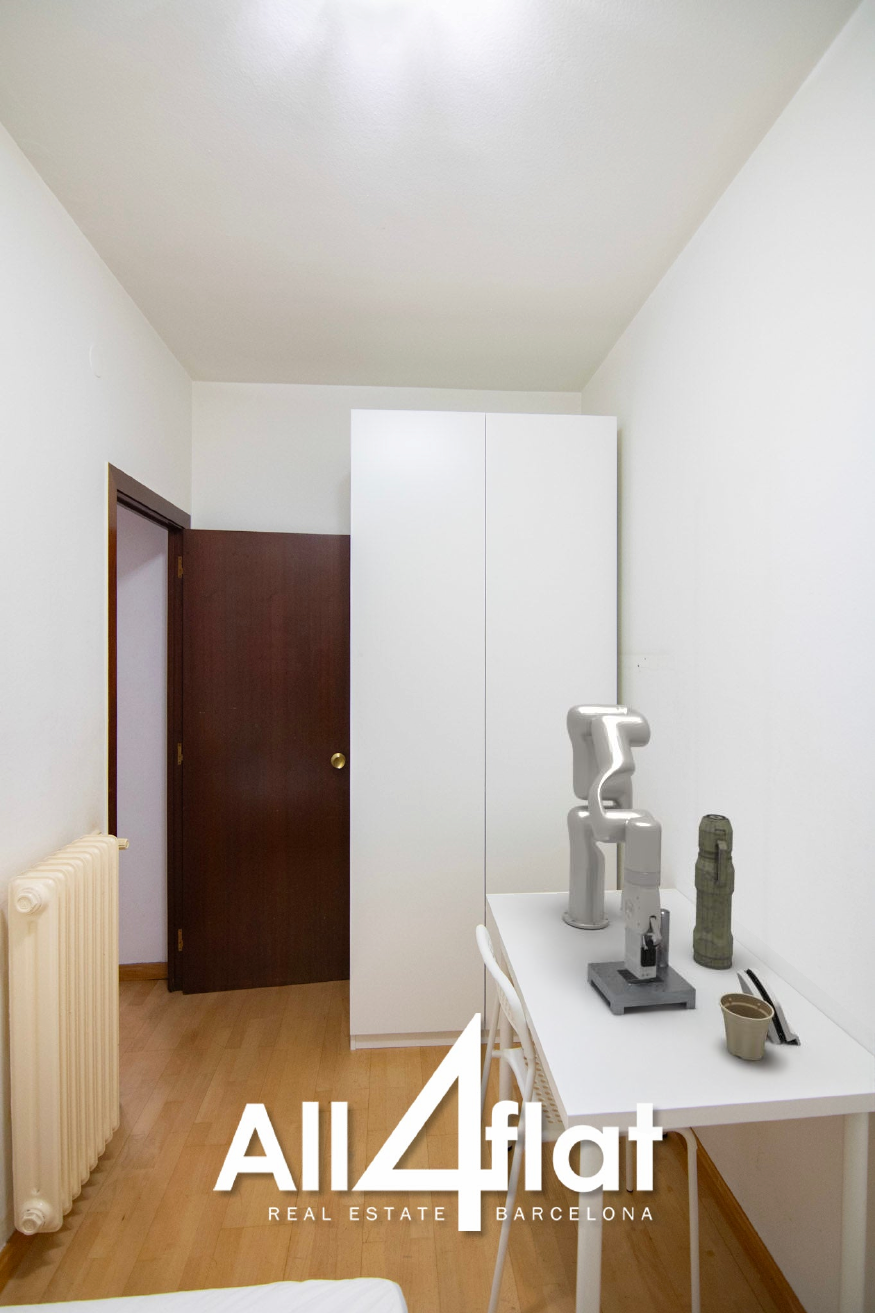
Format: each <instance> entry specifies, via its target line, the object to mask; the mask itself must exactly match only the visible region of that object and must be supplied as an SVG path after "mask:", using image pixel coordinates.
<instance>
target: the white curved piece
mask: <svg viewBox="0 0 875 1313" xmlns="http://www.w3.org/2000/svg"><path fill="white" fill-rule="evenodd" d="M736 976H737V979H738V981H739V984H740V987H741V991H742V993H744V994H749V995H752V996H755V997H758V998H760V999H762V1000H764V1001H765V1002H767V1003H768V1004H769V1005H770V1006H771V1007H772V1008H773V1010H774V1016H773V1017H772V1018H771V1022H770V1023H769V1025H768V1031H767V1035H768V1037H769V1038H770V1039H771V1041H772V1043H773V1044H774V1045H775V1044H776V1045H779V1044H781V1041H782V1039H783V1041H784V1040H785V1041H786V1042H791V1041H793V1040H794V1041H795V1042H796V1044H797V1045H798V1046H801V1045H802V1043H801V1040H800V1036H798V1034H797V1033H796V1031H795V1030H794V1029H793V1027H792V1026H791V1025H790V1023H789V1022H788V1020H787V1019H786V1016H785V1013H784V1010H783V1008H782V1005H781V1004H780V1001H779V999H778V998H777V996H776V994H775V993H774V990H773V989H772V988H771V986H770V985H769V983H768V982H767V980H766V979H765V978H764V976H763V975H762V974H761V972H760V971H759V970H758V969H757V968H755V967H748V968H747V969H746V970H744V969H740V970H739V971H736Z"/></svg>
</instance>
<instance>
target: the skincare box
mask: <svg viewBox="0 0 875 1313" xmlns="http://www.w3.org/2000/svg"><path fill="white" fill-rule="evenodd" d="M624 926H625V927H624V931H625V932H624V933H625V934H624V961H625V968H626V969H628V970H629V971H630V972H631V973H632V974H634V975H635V976H636V977H637V978H639V979H641V980H647V979H646V978H653V977H656V966H653V967H642V966H641V947H643V943H642V935H638V934H637V933H635V932H634V931H633V930H632V929H631V928H630V927H629V926H628V925H626V924H624ZM650 932H651V929H648V930H647V932H646V933H650ZM646 938H647V941H648V940H649V939H652V938H651V936H646Z"/></svg>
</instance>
